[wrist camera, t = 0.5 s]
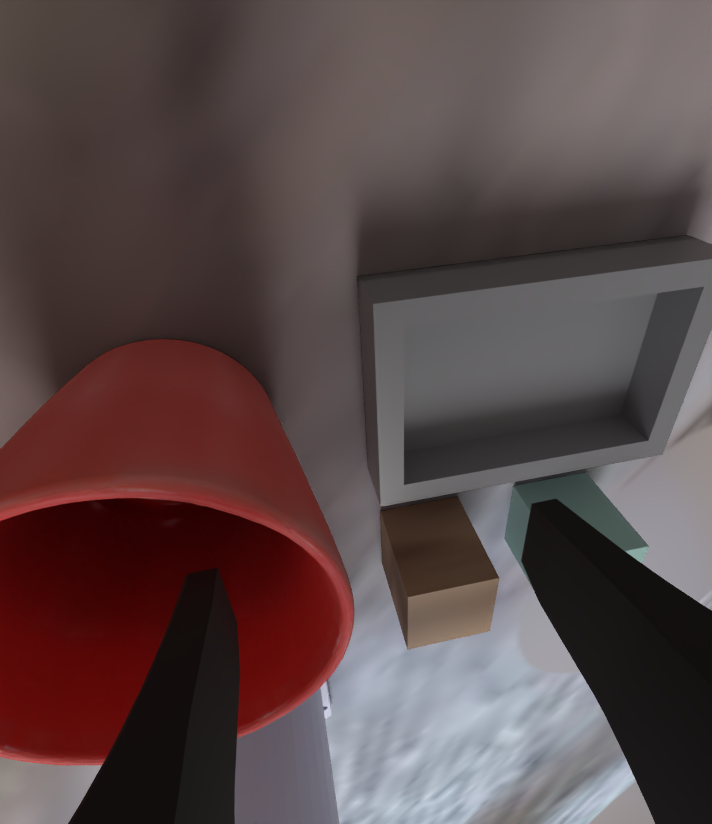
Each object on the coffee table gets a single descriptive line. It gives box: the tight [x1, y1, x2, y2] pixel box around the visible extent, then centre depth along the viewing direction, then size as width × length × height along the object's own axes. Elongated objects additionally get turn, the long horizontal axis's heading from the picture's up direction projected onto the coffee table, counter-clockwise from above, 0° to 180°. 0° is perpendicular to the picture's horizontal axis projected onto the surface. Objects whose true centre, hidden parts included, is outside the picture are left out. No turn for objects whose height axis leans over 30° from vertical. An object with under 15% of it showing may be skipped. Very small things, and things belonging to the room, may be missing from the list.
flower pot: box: [0, 339, 354, 765], centre depth 16 cm, size 11×11×10 cm
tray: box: [357, 235, 712, 507], centre depth 20 cm, size 9×13×2 cm
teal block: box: [505, 473, 649, 588], centre depth 25 cm, size 4×4×5 cm
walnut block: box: [380, 496, 499, 649], centre depth 24 cm, size 4×4×5 cm
